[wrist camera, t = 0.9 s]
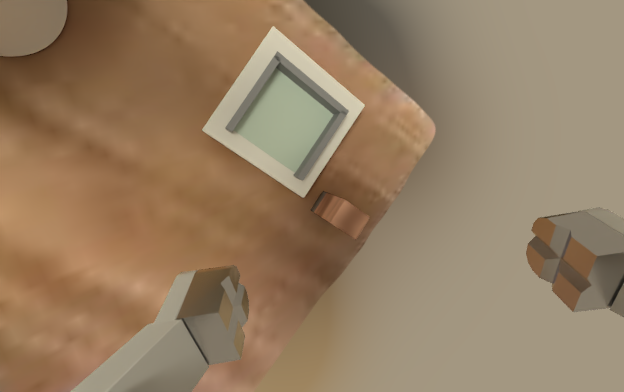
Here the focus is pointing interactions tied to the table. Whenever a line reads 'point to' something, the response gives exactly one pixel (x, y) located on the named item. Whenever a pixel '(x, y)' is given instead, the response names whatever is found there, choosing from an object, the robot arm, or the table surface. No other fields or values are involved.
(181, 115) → the table surface
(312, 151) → the bay dock
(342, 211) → the block
